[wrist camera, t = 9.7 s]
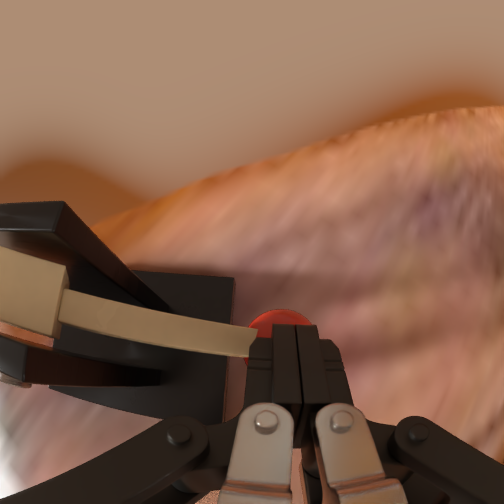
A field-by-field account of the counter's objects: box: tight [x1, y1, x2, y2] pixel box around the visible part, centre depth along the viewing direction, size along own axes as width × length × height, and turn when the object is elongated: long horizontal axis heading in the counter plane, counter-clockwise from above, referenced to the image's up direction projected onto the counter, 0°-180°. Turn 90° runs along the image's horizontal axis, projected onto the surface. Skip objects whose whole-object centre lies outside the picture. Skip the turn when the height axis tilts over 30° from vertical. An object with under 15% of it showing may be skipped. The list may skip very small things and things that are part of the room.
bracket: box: [0, 201, 235, 426], centre depth 12 cm, size 12×9×13 cm
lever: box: [0, 246, 312, 367], centre depth 10 cm, size 13×3×3 cm
